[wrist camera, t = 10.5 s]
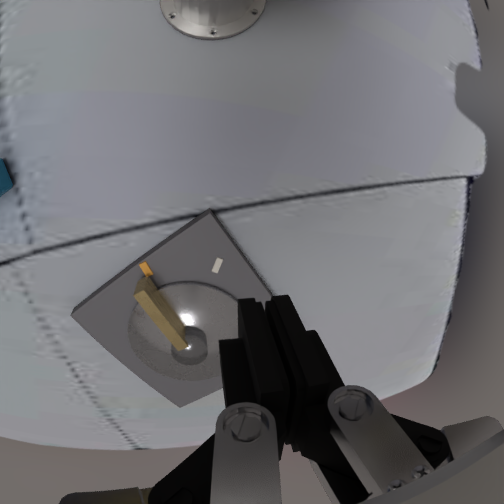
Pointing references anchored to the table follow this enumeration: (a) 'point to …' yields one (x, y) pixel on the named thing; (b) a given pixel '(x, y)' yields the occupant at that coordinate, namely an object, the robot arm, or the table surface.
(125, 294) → the dial base
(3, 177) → the data package
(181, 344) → the capstan dial
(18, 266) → the table surface
